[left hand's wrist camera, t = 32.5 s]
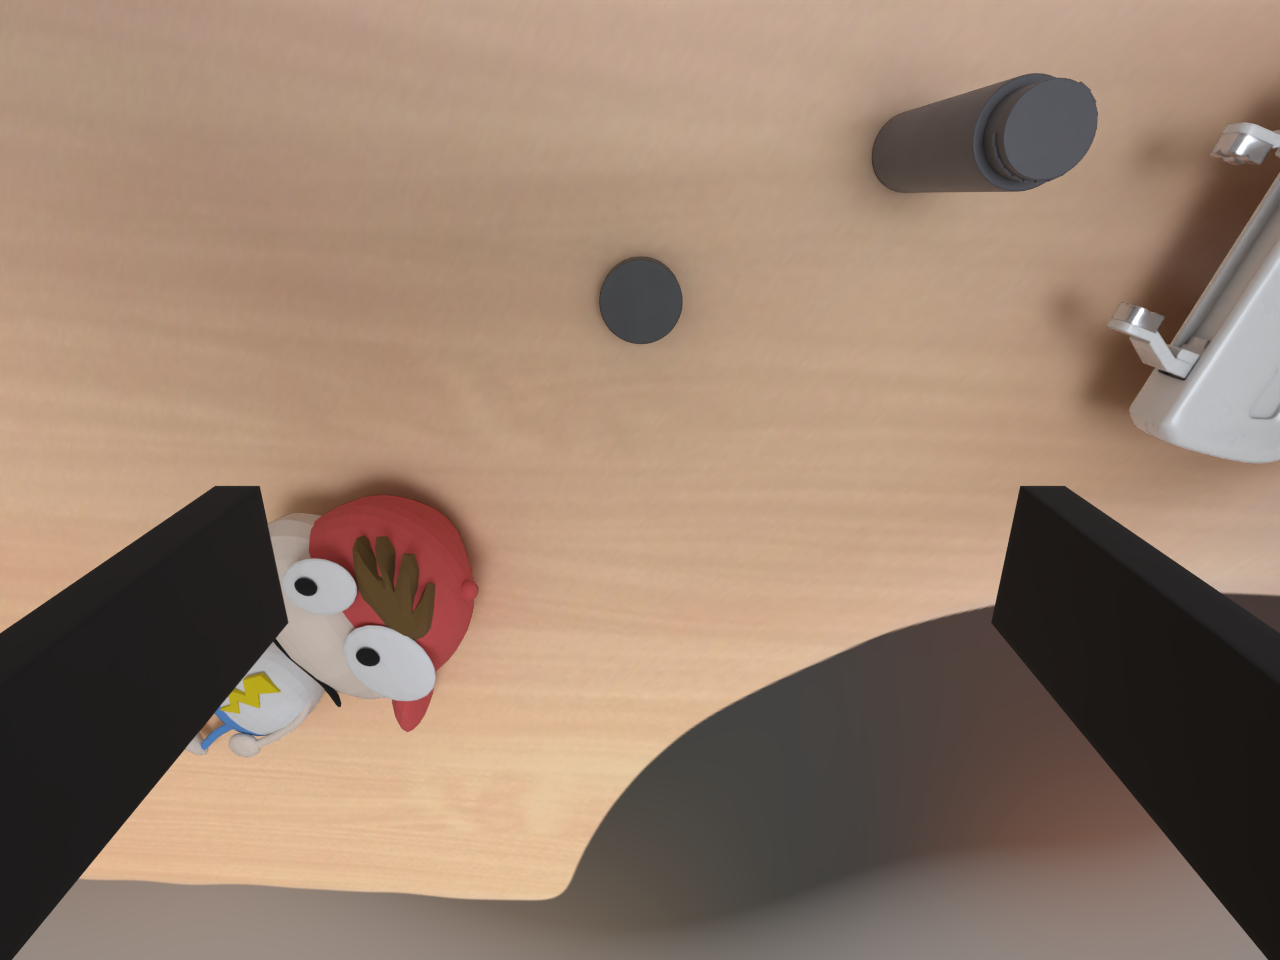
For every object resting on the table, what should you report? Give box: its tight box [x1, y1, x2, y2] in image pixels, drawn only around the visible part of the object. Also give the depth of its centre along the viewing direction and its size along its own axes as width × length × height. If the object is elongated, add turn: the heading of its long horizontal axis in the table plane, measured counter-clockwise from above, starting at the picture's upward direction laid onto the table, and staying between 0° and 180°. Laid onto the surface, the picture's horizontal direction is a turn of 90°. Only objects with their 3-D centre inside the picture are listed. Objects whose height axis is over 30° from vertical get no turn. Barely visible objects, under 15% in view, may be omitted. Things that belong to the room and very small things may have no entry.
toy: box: [185, 495, 478, 757], centre depth 51 cm, size 18×10×30 cm
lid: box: [600, 257, 682, 344], centre depth 45 cm, size 5×5×2 cm
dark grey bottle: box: [872, 73, 1098, 193], centre depth 35 cm, size 4×4×16 cm
